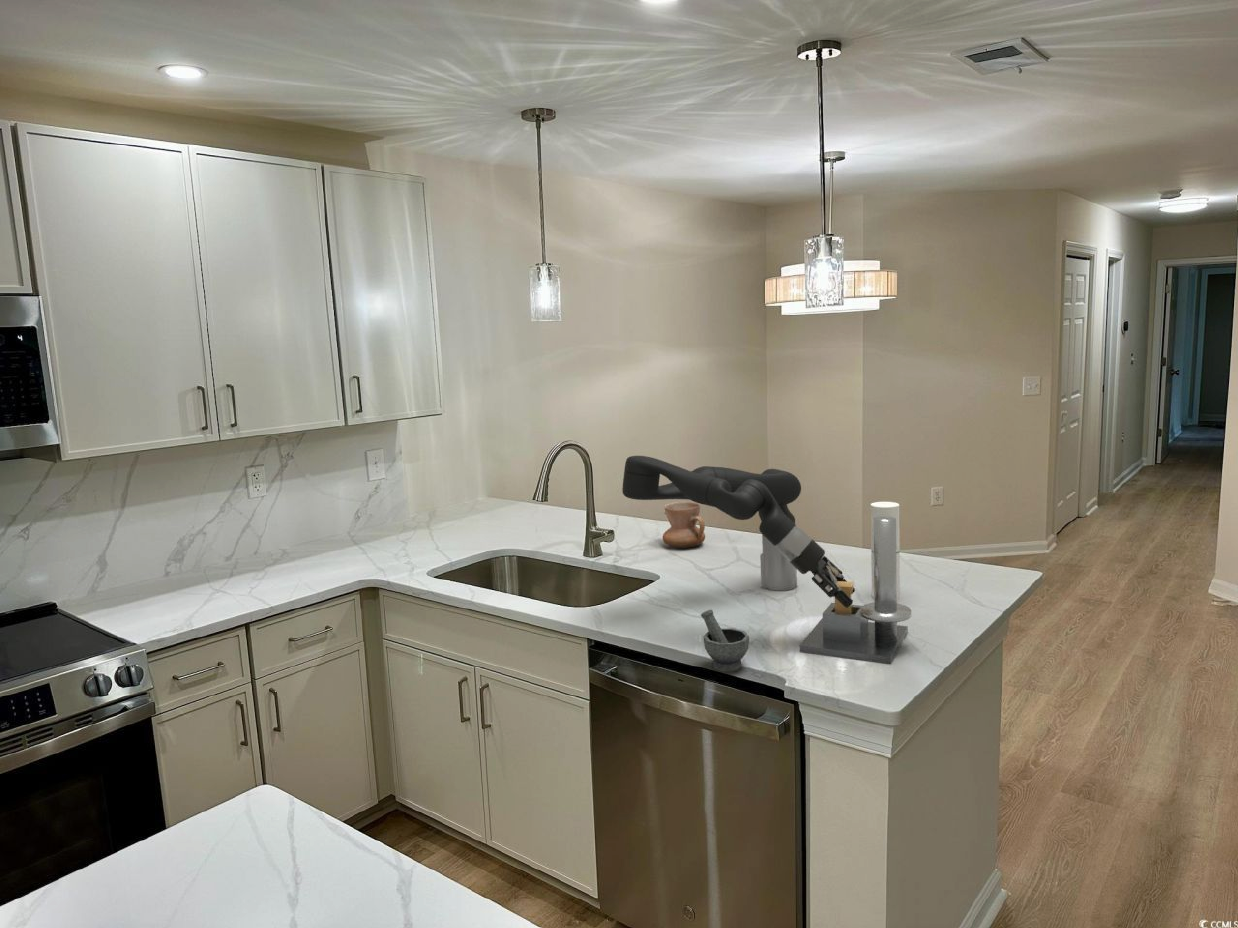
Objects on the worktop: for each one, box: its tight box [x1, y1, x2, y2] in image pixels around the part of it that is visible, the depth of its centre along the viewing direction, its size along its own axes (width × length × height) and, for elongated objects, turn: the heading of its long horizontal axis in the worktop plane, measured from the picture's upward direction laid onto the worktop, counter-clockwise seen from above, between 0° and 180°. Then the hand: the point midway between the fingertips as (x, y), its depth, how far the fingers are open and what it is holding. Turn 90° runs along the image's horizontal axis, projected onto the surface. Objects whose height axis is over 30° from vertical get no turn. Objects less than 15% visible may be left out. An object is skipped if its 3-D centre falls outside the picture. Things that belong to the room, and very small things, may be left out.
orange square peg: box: [831, 581, 854, 614], centre depth 198 cm, size 4×4×12 cm
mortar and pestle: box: [700, 609, 750, 672], centre depth 188 cm, size 11×9×12 cm
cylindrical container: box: [870, 501, 901, 600], centre depth 226 cm, size 7×7×25 cm
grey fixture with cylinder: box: [799, 517, 912, 665], centre depth 194 cm, size 22×20×30 cm
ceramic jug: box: [662, 501, 706, 549], centre depth 290 cm, size 18×14×14 cm
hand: (851, 598), depth 196 cm, fingers open, 8 cm apart
